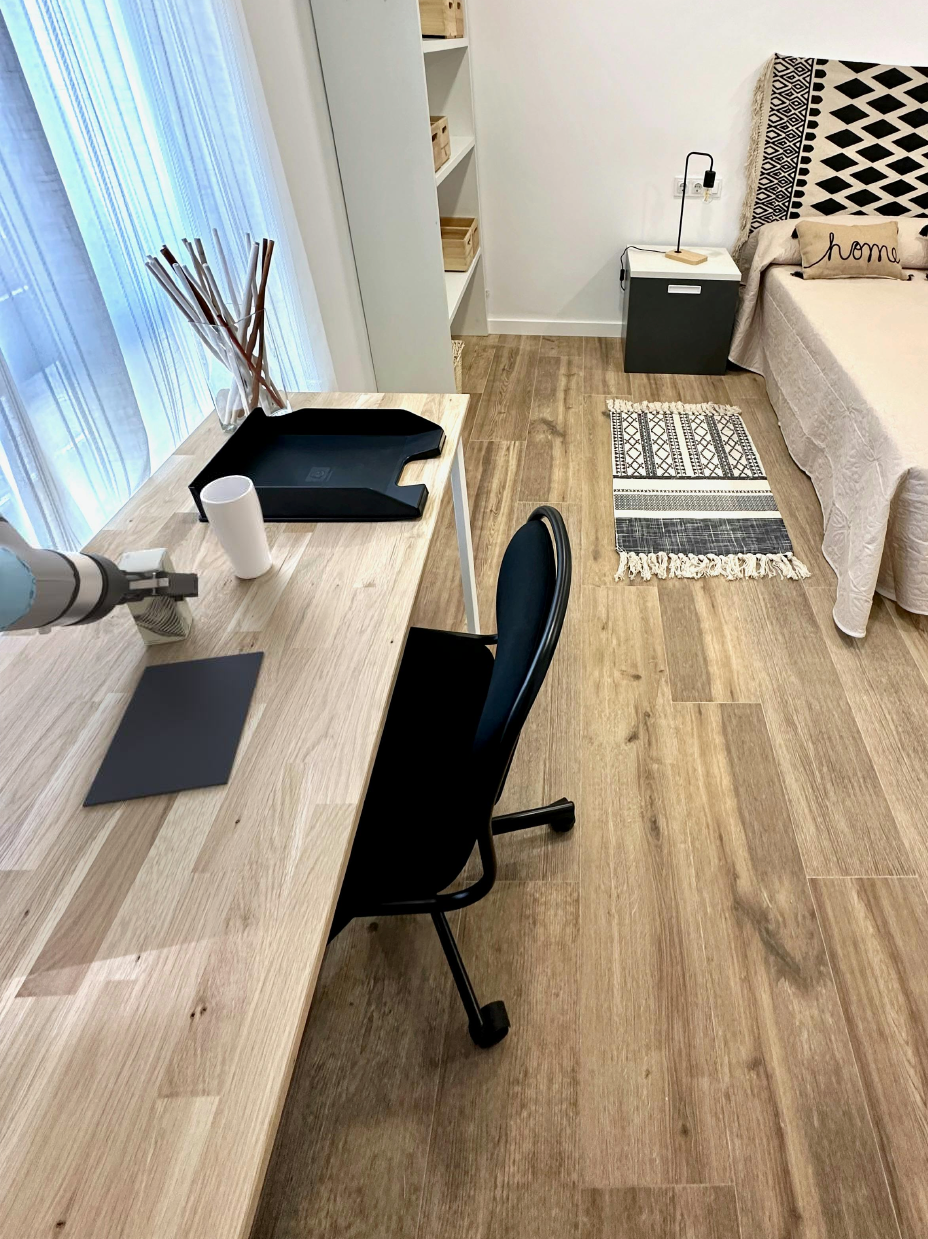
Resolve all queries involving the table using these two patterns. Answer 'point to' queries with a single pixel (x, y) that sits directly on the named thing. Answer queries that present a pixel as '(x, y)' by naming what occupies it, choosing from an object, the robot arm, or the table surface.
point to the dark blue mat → (178, 729)
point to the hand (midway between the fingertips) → (170, 589)
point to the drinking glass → (238, 524)
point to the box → (156, 600)
